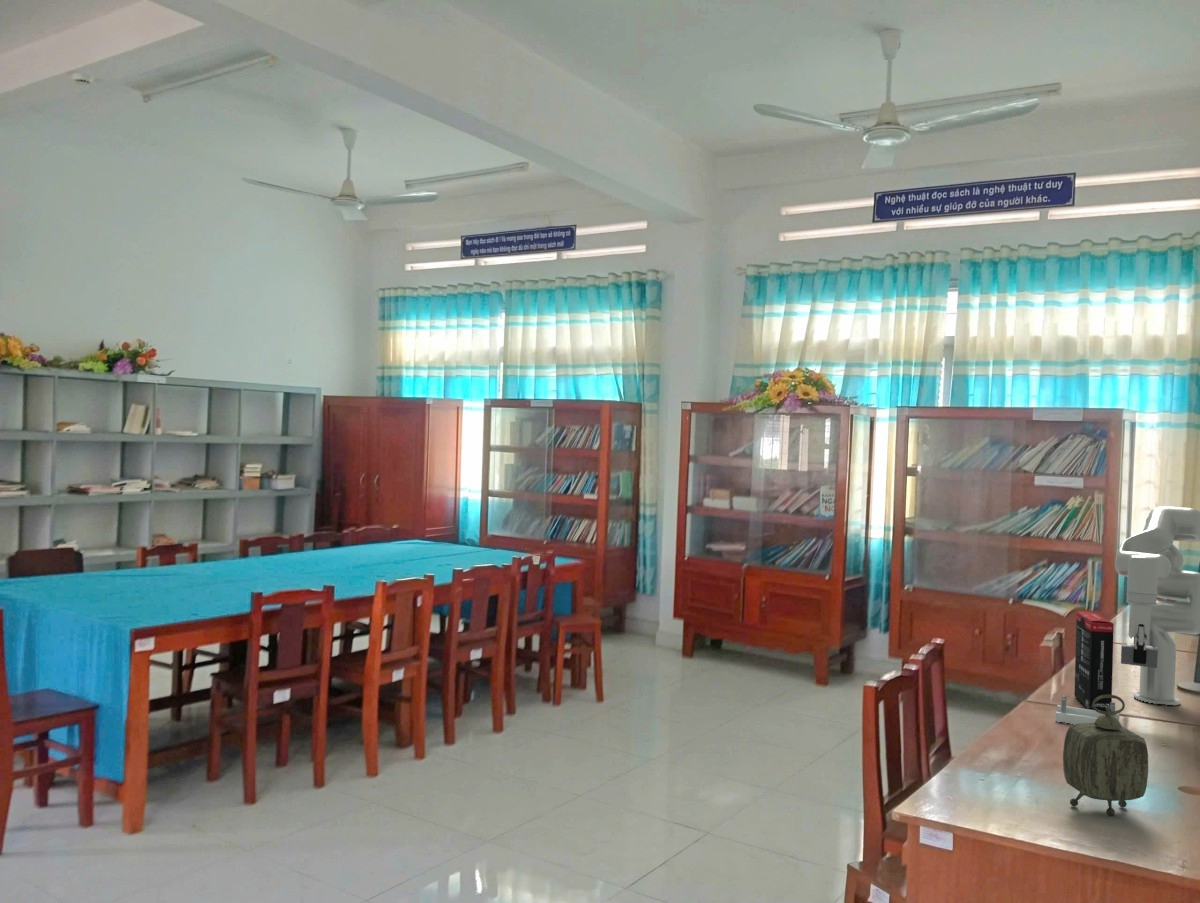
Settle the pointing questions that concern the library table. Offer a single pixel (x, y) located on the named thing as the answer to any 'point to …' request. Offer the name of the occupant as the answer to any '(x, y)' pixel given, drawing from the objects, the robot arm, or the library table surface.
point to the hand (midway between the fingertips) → (1138, 660)
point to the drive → (1128, 655)
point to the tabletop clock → (1105, 759)
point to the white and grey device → (1078, 713)
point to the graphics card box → (1093, 659)
